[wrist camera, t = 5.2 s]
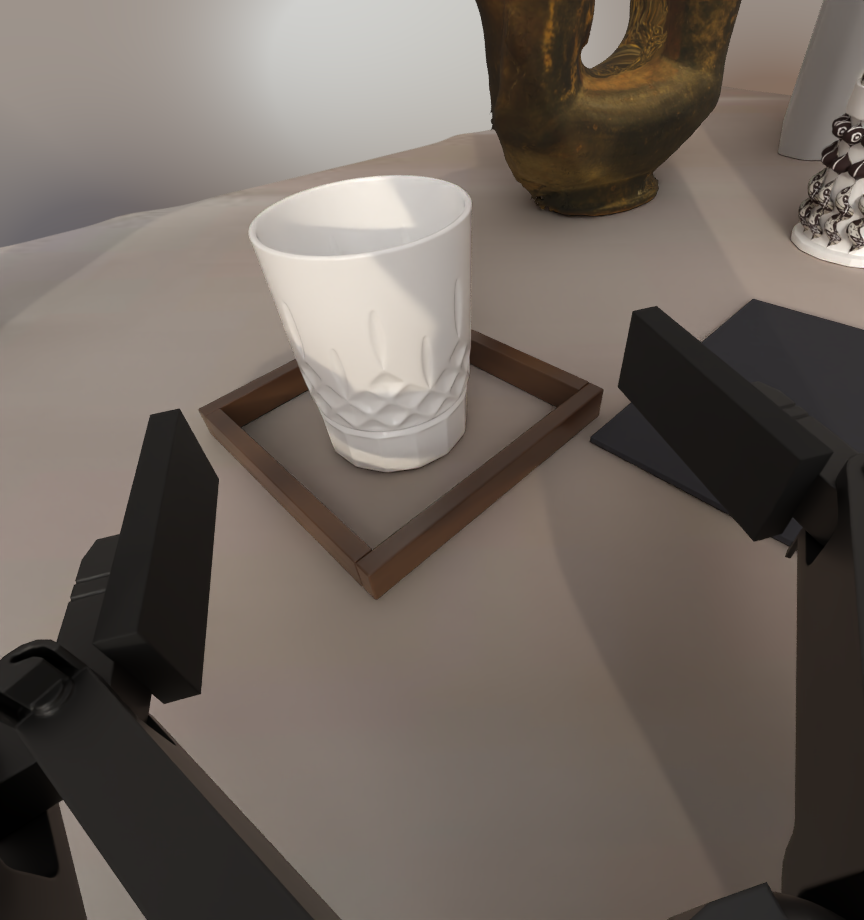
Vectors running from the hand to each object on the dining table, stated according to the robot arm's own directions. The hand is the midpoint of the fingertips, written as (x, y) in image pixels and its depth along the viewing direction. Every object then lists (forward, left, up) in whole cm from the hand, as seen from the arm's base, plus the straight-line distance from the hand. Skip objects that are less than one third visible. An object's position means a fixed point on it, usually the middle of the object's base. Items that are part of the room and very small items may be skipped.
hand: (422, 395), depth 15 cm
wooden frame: (-6, +3, -7) cm, 10 cm away
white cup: (-6, +3, -7) cm, 10 cm away
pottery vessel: (-17, +34, -7) cm, 39 cm away
